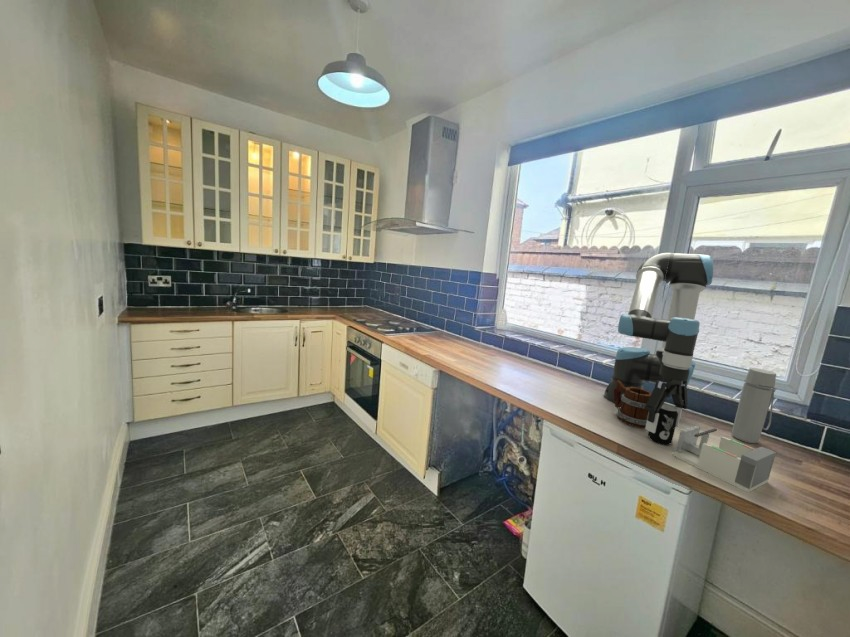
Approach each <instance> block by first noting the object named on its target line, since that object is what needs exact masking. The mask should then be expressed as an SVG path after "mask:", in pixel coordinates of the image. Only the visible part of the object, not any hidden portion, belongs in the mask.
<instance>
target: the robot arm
mask: <svg viewBox="0 0 850 637" xmlns="http://www.w3.org/2000/svg"><path fill="white" fill-rule="evenodd" d="M713 277H714V259H713V257H712V256H711V255H709V254H699V253H678V252H675V253H673V252H663V253H659V254H656V255H653V256H651V257H649V258H648V259H646V260H645V261H643V262H642V263H641V265H640V266H639V267H638V269H637V271H636V274H635V279H636V284H635V287H634V288H635V289H634V292H633V295H632V299H631V303H630V306H629V310H628V313H626V314H625V313H622V314H621V315H620V317H619V321H618V326H617V331H618V333H619V334H621V335H624V336H629V337H633V338H634V337H635V338H641V339H646V340H647V339H648V340H654V341H660V342H662V344H661V347H659V348H658V349H656V352H655V353H651V351H650V350H649V349H648V348H644V347H638V346H636V347H635V346H634V347H633V346H625V347H621V348H618V349H617V351H616V355H615V357H614V359H615V361H614V365H613V371H612V376H611V380H610V382H609V383H608V385H607V387H606V388H605V389H604V395H603V397H604V398H605V399H607V400H608V401H610V402H612V403H614V404H615V400H614V389H615V387H617V384H616V382H615V381H617V380H620V381H621V382H622V384H623V386H624V387H626V388H627V387H636V388H639V389H644V382H646V383H647V382H648V383H651V384H655V385H654V388H653V390H652V392H651V393H652V394H651V396H650V398H649V400H648V402H647V404H646V406H645V409H646V410H648V411H649V413H648V418H647V423H646V427H645V429H644V430H646V431H648V432H649V431H650V432H652V433H655V432H656V427H657V422H658V417H659V413H658V411H659V410H660V408H661V407H662V405H663V404H665V402H666V401H667V399H668V398H670V397H671V398H672V401H673V405H672V406H674V407H676V408H677V413H678V417H677V421H676V426H675V428H679V426H680V421H681V417H682V414H683V410H687V408H688V390H687V387H688V385H689V383H690V380H691V379H692V377H693V374H694V371H695V366H696V362H695V361H694V360H693V358H694V351H695V347H696V342H697V340H698V334H699V333H700V321H699V320H697V319H695V318H696V314H697V309H698V305H699V304H698V302H699V297H700V295H701V294H700V293H701V292H704V291H705V290H706V287H707V286H710V285H711V284H712V282H713ZM662 282H669V287H670V288H671V290H672V294H671V300H670V304H669V310H668V313H667V314H668V315H667V319H662V318H655V317H653V313H654V309H655V305H656V299H657V294H658V291H659V286H660V284H661V283H662ZM622 394H624V392H622V393H621V394H620V395H621V396H622ZM621 402H622V400H621Z"/></svg>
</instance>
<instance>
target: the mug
mask: <svg viewBox="0 0 850 637" xmlns="http://www.w3.org/2000/svg"><path fill="white" fill-rule="evenodd" d="M615 382H616V384H617V387H615V389H614V400H615V403H614V407H615V408H617V412H616V415H617V418H618V419H619V421H620V422H622V423H624V424H626V425H629V426H632V427H635V428H641V429H644V428H645V427H646V423H647V418H648V413H649V411H648V410H646V409H645V406H646V404H647V402H648V400H649V398H650V396H651V394H652V392H651V391H649V390H647V389H645V388H643V389H639V388H636V387H627V388H626V387H624V386H623V384H622V382H621V381H620V380H617V381H615ZM622 392H624V394H622V396H621V395H620V394H621V393H622ZM621 400H622V402H621Z"/></svg>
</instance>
